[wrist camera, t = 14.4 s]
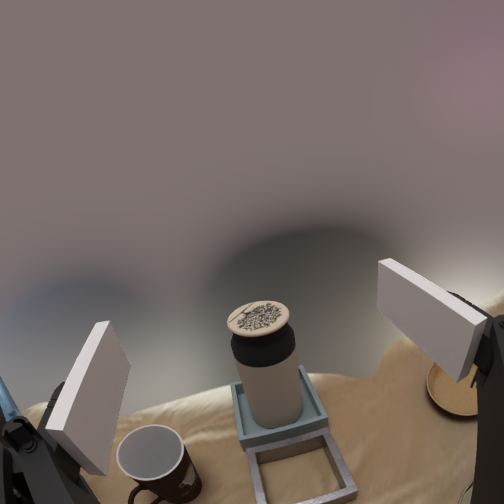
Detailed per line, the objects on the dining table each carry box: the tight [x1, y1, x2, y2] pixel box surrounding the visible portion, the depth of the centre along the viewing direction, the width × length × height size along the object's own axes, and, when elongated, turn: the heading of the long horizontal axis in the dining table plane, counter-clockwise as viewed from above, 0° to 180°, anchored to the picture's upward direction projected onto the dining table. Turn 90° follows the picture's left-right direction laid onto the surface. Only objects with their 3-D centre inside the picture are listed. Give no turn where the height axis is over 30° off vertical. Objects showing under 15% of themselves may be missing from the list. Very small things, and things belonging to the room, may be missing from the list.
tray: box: [230, 365, 328, 452], centre depth 39 cm, size 12×12×3 cm
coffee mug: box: [116, 424, 202, 504], centre depth 25 cm, size 12×9×10 cm
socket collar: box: [246, 427, 358, 504], centre depth 26 cm, size 11×11×4 cm
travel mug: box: [227, 301, 303, 428], centre depth 36 cm, size 8×8×18 cm
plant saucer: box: [426, 362, 478, 416], centre depth 31 cm, size 15×15×3 cm
